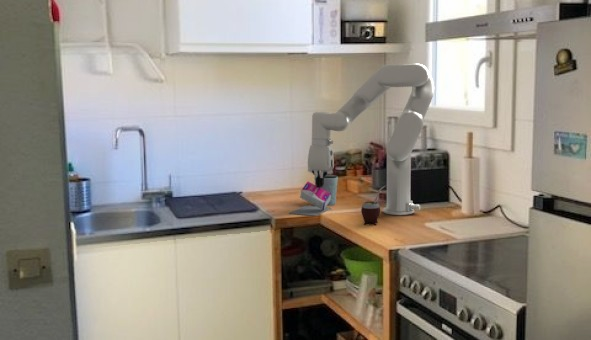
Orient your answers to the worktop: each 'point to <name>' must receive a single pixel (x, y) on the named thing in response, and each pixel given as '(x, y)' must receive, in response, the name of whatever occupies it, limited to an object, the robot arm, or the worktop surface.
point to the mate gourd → (371, 211)
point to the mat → (309, 211)
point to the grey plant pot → (330, 187)
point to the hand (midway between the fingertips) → (319, 186)
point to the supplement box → (315, 195)
